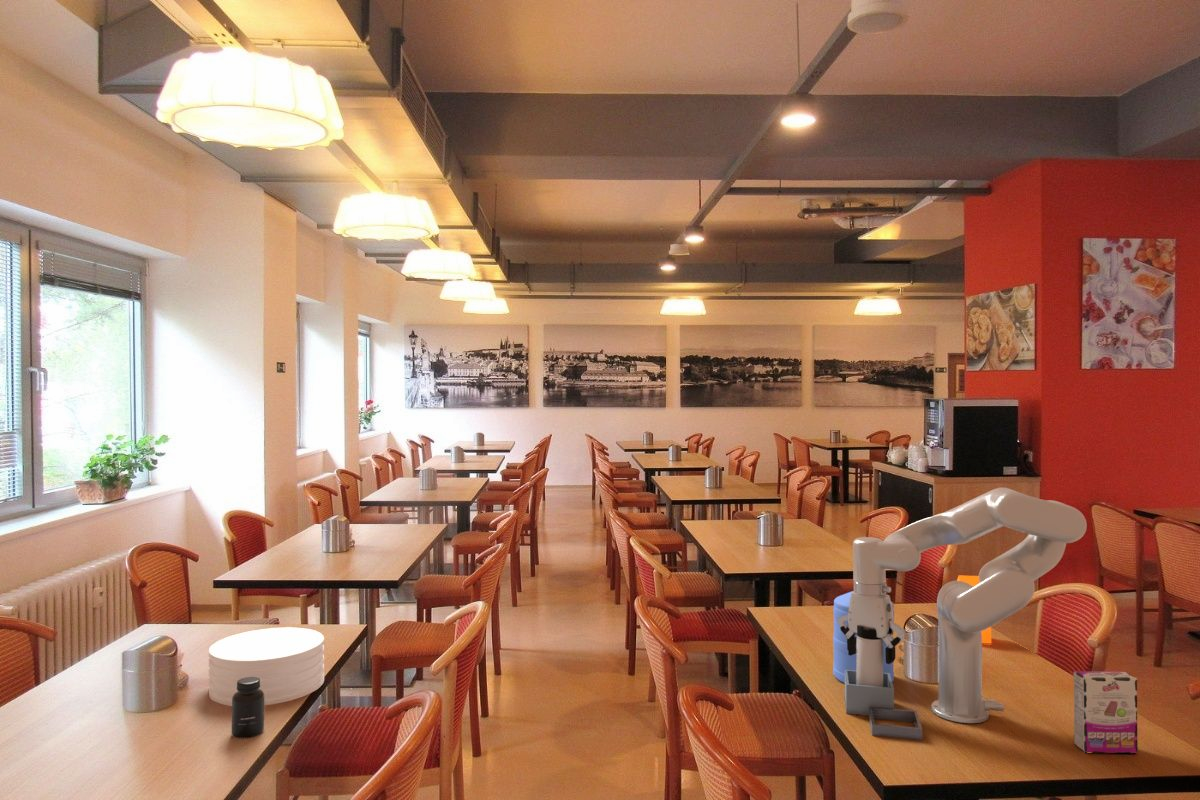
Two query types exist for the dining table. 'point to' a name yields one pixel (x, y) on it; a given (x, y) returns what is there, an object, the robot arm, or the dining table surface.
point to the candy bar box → (1105, 711)
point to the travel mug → (869, 658)
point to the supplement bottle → (248, 708)
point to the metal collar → (892, 730)
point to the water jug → (840, 642)
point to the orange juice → (973, 581)
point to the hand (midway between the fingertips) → (871, 658)
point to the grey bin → (867, 694)
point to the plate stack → (268, 663)
